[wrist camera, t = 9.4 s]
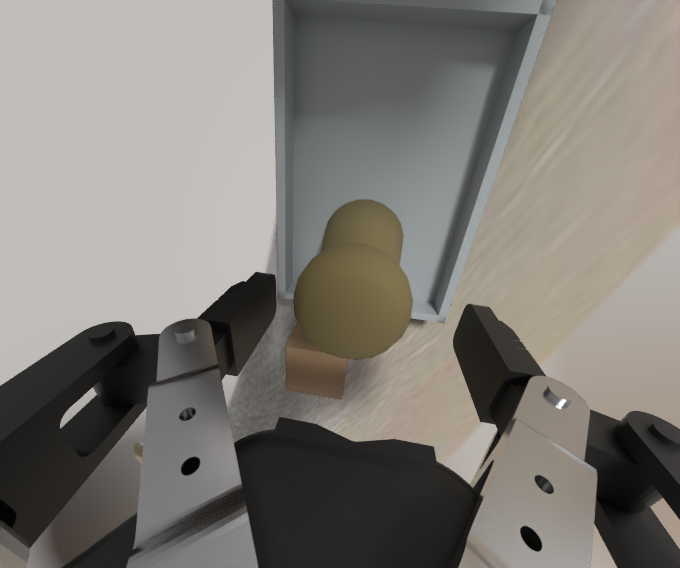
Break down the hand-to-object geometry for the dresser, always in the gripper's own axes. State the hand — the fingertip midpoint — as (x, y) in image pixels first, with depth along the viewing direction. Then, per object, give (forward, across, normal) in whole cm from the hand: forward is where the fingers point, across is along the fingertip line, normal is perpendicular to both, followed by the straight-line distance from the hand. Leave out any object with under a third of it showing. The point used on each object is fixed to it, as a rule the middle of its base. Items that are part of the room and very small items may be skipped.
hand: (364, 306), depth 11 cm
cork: (+10, +1, 0) cm, 10 cm away
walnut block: (+10, +3, +9) cm, 14 cm away
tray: (+10, 0, -4) cm, 11 cm away
